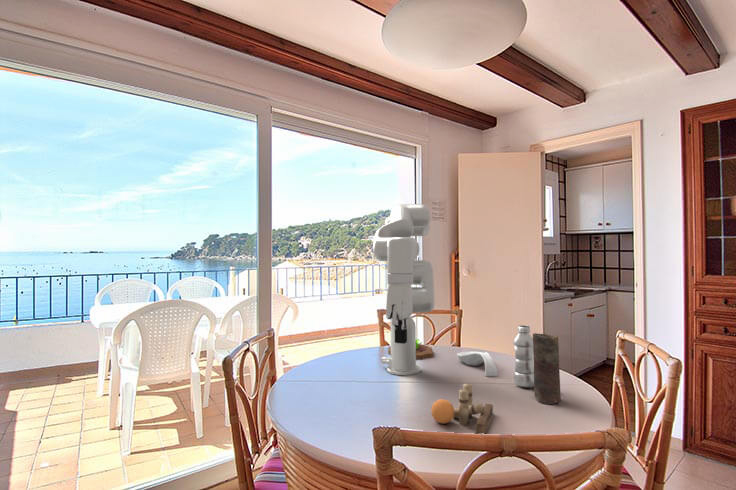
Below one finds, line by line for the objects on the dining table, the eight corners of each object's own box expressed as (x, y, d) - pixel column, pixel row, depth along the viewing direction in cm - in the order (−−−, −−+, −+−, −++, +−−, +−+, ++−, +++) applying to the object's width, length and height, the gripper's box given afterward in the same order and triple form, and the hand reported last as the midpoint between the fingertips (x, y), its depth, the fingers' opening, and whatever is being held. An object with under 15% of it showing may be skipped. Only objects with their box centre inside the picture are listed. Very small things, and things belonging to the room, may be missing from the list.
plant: (393, 362, 166) (393, 334, 166) (384, 350, 185) (384, 325, 185) (440, 359, 169) (439, 332, 169) (426, 348, 188) (426, 324, 188)
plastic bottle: (537, 390, 130) (536, 328, 130) (515, 389, 131) (514, 328, 131) (533, 383, 136) (532, 324, 136) (512, 382, 137) (511, 324, 138)
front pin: (449, 410, 109) (480, 405, 105) (451, 406, 111) (481, 401, 107) (453, 419, 108) (483, 414, 105) (455, 415, 111) (484, 410, 107)
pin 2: (458, 424, 105) (457, 392, 105) (460, 420, 108) (460, 388, 108) (467, 426, 104) (467, 393, 104) (469, 422, 106) (469, 390, 107)
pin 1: (462, 417, 110) (462, 385, 110) (464, 413, 112) (464, 383, 112) (471, 418, 109) (471, 387, 109) (473, 415, 111) (473, 384, 111)
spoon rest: (452, 360, 167) (452, 343, 167) (479, 358, 168) (479, 341, 168) (477, 378, 143) (476, 358, 143) (507, 376, 145) (507, 356, 145)
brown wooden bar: (476, 433, 100) (476, 423, 100) (485, 412, 113) (485, 403, 113) (484, 434, 99) (484, 424, 99) (492, 413, 112) (492, 404, 112)
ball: (443, 431, 106) (425, 415, 108) (455, 413, 109) (437, 398, 111) (448, 425, 102) (429, 409, 104) (460, 406, 105) (441, 391, 107)
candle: (529, 395, 125) (528, 331, 125) (551, 395, 126) (550, 331, 126) (542, 405, 117) (541, 337, 118) (565, 404, 118) (564, 336, 118)
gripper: (397, 277, 125) (398, 336, 125) (378, 281, 111) (378, 347, 111) (420, 278, 122) (421, 338, 121) (403, 281, 108) (404, 350, 108)
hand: (400, 342), depth 116 cm, fingers closed
